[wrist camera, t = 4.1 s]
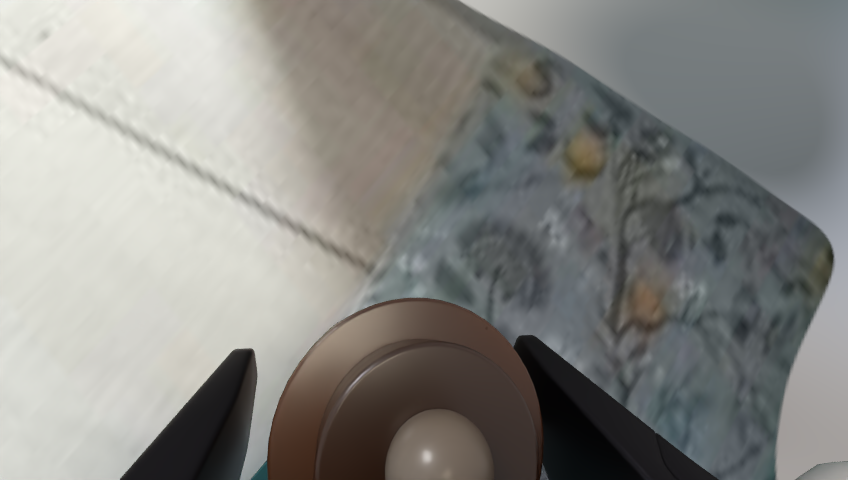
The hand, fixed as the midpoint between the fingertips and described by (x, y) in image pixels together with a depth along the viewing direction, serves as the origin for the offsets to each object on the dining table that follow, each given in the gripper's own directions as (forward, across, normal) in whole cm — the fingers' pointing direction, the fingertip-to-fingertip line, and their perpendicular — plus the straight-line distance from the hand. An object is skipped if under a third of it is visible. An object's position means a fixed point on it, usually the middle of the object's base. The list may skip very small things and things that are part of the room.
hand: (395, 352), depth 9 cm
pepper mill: (+4, 0, +6) cm, 7 cm away
